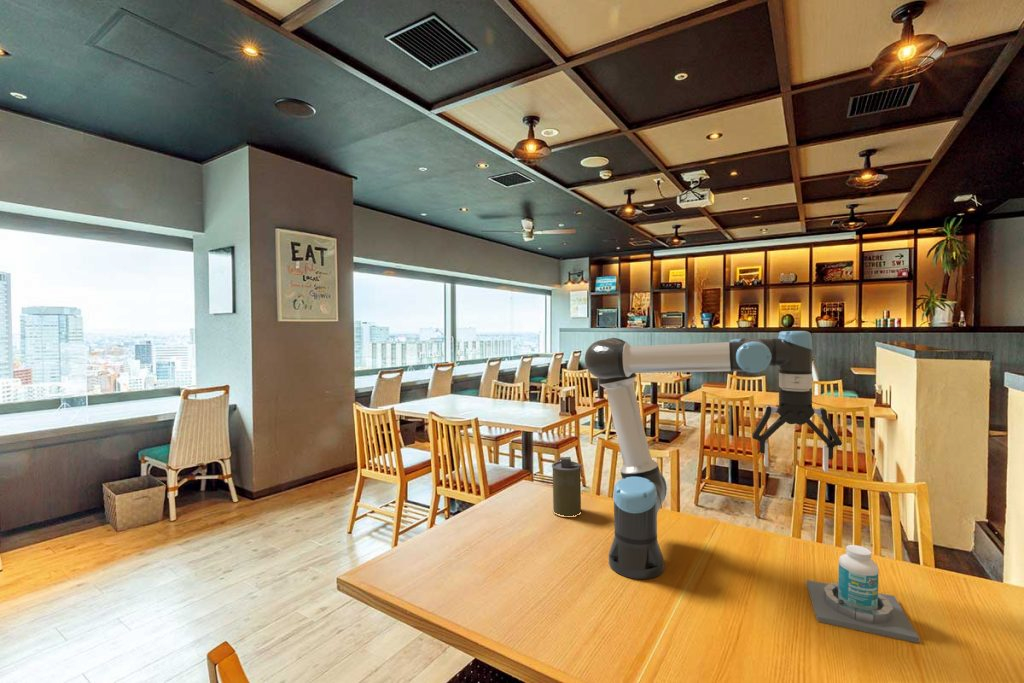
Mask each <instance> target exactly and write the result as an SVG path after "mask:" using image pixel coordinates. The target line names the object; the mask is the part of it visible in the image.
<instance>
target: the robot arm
mask: <svg viewBox="0 0 1024 683" xmlns="http://www.w3.org/2000/svg"><path fill="white" fill-rule="evenodd" d="M813 350H814V349H813V336H812V334H811V332H809V331H806V330H781V331H779V333H778V336H777V338H745V337H744V338H734V339H731V340H730V341H725V342H720V341H719V342H703V343H702V342H700V343H699V342H698V343H678V344H676V343H675V344H654V345H652V344H651V345H631V344H630V343H628V342H627V341H625V340H623V339H621V338H618V337H611V338H606V339H600V340H597V341H594V342H593V343H592V344H591V345H590V346H588V348H587V349H586V352H585V354H584V363H585V367H586V369H587V371H588V372H589V373H590V374H591V376H594V377H596V378H597V381H598V384H599V386H600V387H602V388H604V389H605V392H606V397H607V400H608V404H609V408H610V414H611V418H612V421H613V426H614V429H615V430H614V431H615V434H616V437H617V438H616V439H617V442H618V447H619V450H620V454H621V458H622V459H621V460H622V461H623V462H622V463H623V464H622V465H621V468H620V475H621V478H620V480H618V481H616V483H615V484H614V488H613V494H612V495H613V512H614V513H613V514H614V515H613V516H614V518H613V520H614V536H613V540H612V543H611V546H610V548H609V552H608V565H609V567H610V568H611V569H612V570H613V571H614V572H615V573H616V574H619V575H620V576H623V577H626V578H630V579H636V580H650V579H654V578H657V577H659V576H661V575H662V573H663V572H664V569H665V559H664V556H663V554H662V550H661V548H660V544H659V542H658V512H659V511H660V509H661V507H662V504H663V503H664V502H665V499H666V497H667V491H668V490H667V489H668V488H667V486H668V485H667V482H666V479H665V477H664V475H663V474H662V473H661V472H660V467H659V463H658V462H657V461H655V460H654V459H652V456H651V452H650V447H649V444H648V440H647V436H646V432H645V427H644V424H643V419H642V416H641V412H640V407H639V404H638V403H639V402H638V399H637V395H636V392H635V388H634V387H635V386H634V382H635V380H636V378H637V374H650V373H651V374H652V373H654V374H655V373H659V374H660V373H664V374H665V373H704V372H747V373H751V374H752V373H753V374H755V373H760V372H763V371H764V370H765V369H767V368H768V367H778V387H779V388H780V389H779V390H778V405H777V406H771V405H770V404H767V405H765V410H764V414H763V415H762V417H761V419H760V421H759V422H758V424H757V425H756V427H755V429H754V431H753V432H752V434H751V435H752V436H751V437H752V440H753V439H754V440H756V441H758V442H759V453H760V454H763V456H764V457H763V465H764V467H765V468H768V467H769V441H768V439H769V438H770V437H771V436H772V435H773V434H774V433H775V432H777V430H778V429H779V428H780V427H781V426H783V425H784V424H785V423H786V424H788V425H798V426H803V425H806V424H807V425H808V426H809V427H810V429H812V431H813V432H814V433H815V434H816V435H818V438H820V439H821V440H822V441H823V443H825V444H822V470H823V472H824V473H828V474H829V460H833V458H834V448H835V447H837V446H839V447H840V446H842V445H843V443H842V440H841V439H840V437H839V435H838V433H837V431H836V430H835V428H834V427H833V425H832V423H831V422H830V420H829V418H828V410H826V408H824V407H820V408H814V406H813V391H812V389H813ZM810 389H811V390H810ZM776 412H777V413H778V415H779V417H778V418H777V419H776V421H774V422H773V423H772V424H770V427H768V428H767V429H766V430H765V431H764V432H762V431H763V430H764V428H765V426H766V425H767V423H768V421H769V419H770V418H771V415H772V416H773V415H775V413H776ZM814 414H816V416H817V417H818V418H821V420H822V422H823V424H824V426H825V427H826V429H827V431H828V433H829V434H830V437H831V438H832V440H830V439H829V437H828V436H826V434H824V432H822V430H821V429H820V428H819V427H818V426H817V425H816V424H815V423H814V422H813V421H812V420H811V418H812V417H814ZM761 433H762V434H761Z"/></svg>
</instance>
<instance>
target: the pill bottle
mask: <svg viewBox="0 0 1024 683" xmlns="http://www.w3.org/2000/svg"><path fill="white" fill-rule="evenodd" d="M845 552H846V553H843V554H841V555H840V556H839V558H838V582H839V583H838V599H841V600H843V601H844V603H845V604H848V605H850V606H852V607H855V608H859V609H864V610H869V611H872V610H877V609H878V593H879V572H880V571H879V570H880V569H879V565H878V564H877V563H876V561H874V560H872V551H871V550H870V549H868V548H866V547H864V546H862V545H858V544H857V545H856V544H848V545H846V548H845Z"/></svg>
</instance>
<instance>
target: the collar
mask: <svg viewBox="0 0 1024 683" xmlns="http://www.w3.org/2000/svg"><path fill="white" fill-rule="evenodd" d="M838 583H839V581H838V582H829V583H827V584H828V585H827V586H826V587H824V597H825V600H826V603H827V604H828V605H829V606H830V607H832V608H833V609H834V610H835V611H837V612H838V613H840V614H843V615H845V616H847V617H849V618H852V619H854V620H857V621H862V622H867V623H872V624H873V623H874V624H878V623H888V622H889V621H890V620H891V619H892V617H893V607H892V605H891V603H890V602H889V600H888V599H887V598H885V597H884V596H882V595H881V594H882V593H881V594H879V593H880V592H878V606H879V607H881V610H872V611H869V610H864V609H859V608H855V607H852V606H850V605H848V604H845V603H844V601H843V600H841V599H838V598H836V597H835V595H836V594H838Z"/></svg>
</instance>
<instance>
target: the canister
mask: <svg viewBox="0 0 1024 683" xmlns="http://www.w3.org/2000/svg"><path fill="white" fill-rule="evenodd" d="M582 467H583V463H578V462H577V461H572V459H571V456H561V457H559V458H558V461H556V462H554V463H552V464H551V468H552V501H553V502H552V504H553V505H552V506H553V509H552V511H553V510H554V512H555V513H557V514H560V515H564V516H573V515H574V516H575V515H577V514H579V513H580V512H581V511H582V496H583V491H584V490H583V488H581V487H582V486H581V485H582V484H581V482H582V478H581V468H582ZM581 490H582V491H581ZM581 494H582V496H581Z"/></svg>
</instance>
